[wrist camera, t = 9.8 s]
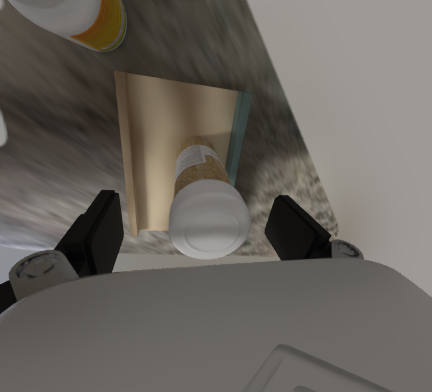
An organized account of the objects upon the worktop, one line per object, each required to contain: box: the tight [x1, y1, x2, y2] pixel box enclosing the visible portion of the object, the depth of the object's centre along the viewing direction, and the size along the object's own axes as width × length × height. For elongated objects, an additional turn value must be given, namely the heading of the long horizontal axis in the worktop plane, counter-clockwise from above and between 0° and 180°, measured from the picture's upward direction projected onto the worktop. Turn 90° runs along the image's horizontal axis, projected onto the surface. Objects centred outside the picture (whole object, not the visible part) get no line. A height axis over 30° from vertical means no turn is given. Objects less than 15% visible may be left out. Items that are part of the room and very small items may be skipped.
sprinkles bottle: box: [168, 137, 251, 259], centre depth 16 cm, size 5×5×13 cm
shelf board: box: [114, 70, 253, 236], centre depth 22 cm, size 12×18×4 cm, turn 172°
